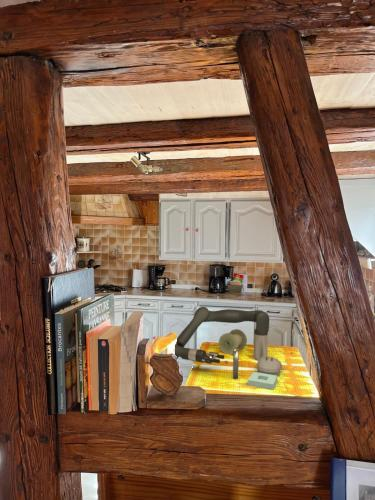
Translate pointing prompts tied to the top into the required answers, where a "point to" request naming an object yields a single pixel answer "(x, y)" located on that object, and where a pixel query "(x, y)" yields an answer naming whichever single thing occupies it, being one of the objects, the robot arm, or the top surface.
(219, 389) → the top surface
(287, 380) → the top surface
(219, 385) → the top surface
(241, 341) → the spool
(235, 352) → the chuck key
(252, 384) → the block
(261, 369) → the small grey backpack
